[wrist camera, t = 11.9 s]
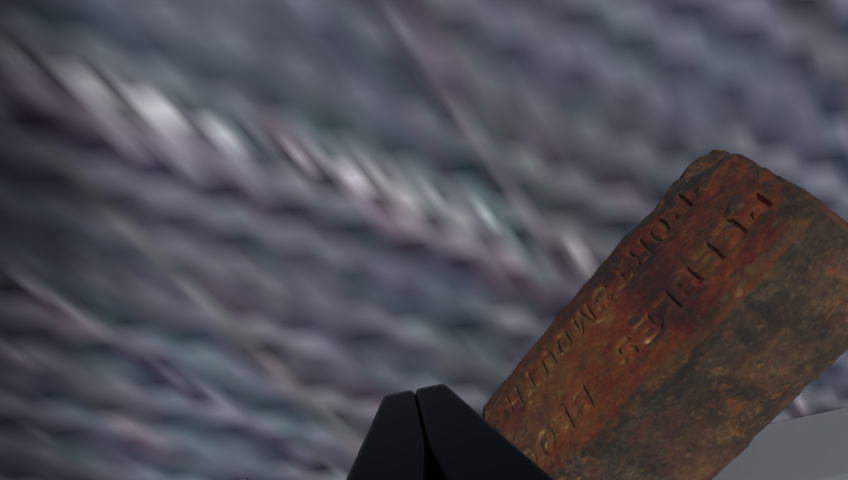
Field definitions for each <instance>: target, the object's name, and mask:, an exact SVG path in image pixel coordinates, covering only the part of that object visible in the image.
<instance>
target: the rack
mask: <svg viewBox="0 0 848 480" xmlns="http://www.w3.org/2000/svg"><path fill="white" fill-rule="evenodd" d="M712 480H848V407H846V408H842V409H837V410H832V411H828V412H823V413H818V414H814V415H809V416H804V417H800V418H795V419H790V420H786V421H781V422H776V423H772V424H768V425H767V426H766V427H765V428H764V429H763V430H762V431H761V432H759V433H758V434H757V435H756V436H755V437H754V438H753V440H752V441H751V443H750V444H749V446H748V447H747V448H746V449H745V450H744V451H743V452H742V453H741V454H740V455H739V456H737V457H736V458H734V459H733V460H732V461H731V462H730V463H729V464H728V465H727V466H726V467H725V468H724V469H723V470H722V471H721V472H720V473H719V474H718V475H717V476H716V477H715V478H713V479H712Z"/></svg>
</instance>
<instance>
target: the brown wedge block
mask: <svg viewBox="0 0 848 480" xmlns="http://www.w3.org/2000/svg"><path fill="white" fill-rule="evenodd" d="M847 350H848V223H847V222H846V221H845V220H844V219H842V218H841V217H840V216H838V215H837V214H836V213H835V212H833V211H832V210H831V209H830V208H828V207H827V206H826V205H825V204H824V203H822V202H821V201H820V200H819V199H817V198H816V197H815V196H813V195H812V194H810V193H809V192H807V191H806V190H804V189H802V188H800V187H798V186H797V185H795V184H792V183H790V182H788V181H787V180H785V179H783V178H782V177H780V176H776V175H775V174H774V173H772V172H771V171H769V170H768V169H767V168H762V167H760V166H759V165H758V164H757V163H755V162H754V161H752V160H750V159H748V158H746V157H744V156H742V155H740V154H730V153H728V152H726V151H721V150H713V151H712V152H710V153H709V154H707V155H705V156H703V157H701V158H699V159H697V160H696V161H694V162H693V163H692V164H690V165H689V166H688V167H687V168H686V170H685V171H684V173H683V174H682V176H681V177H680V179H679V180H677V181H676V182H674V183H673V185H672V186H671V187H670V188H669V190H668V191H667V193H666V195H665V197H664V198H663V199H662V200H661V202H660V203H659V204H658V205H657V207H656V208H655V210H654V211H652V212H651V213H650V214H649V215H648V216H647V217H646V218H645V219H644V220H643V221H642V222H641V223H640V224H639V225H638V226H637V227H636V228H635V229H634V230H632V231H631V232H630V233H629V234H627V235H626V236H625V237H623V239H622V240H621V241H620V243H619V244H618V245H617V247H616V248H615V250H614V251H613V252H612V253H611V255H610V256H609V257H608V259H607V260H606V261H605V262H604V263H602V264H601V266H600V267H599V268H598V270H597V271H596V272H595V274H594V275H593V276H592V277H591V279H590V280H589V281H588V282H587V283H586V284H585V285H584V286H583V287H582V288H581V290H580V291H579V292H578V293H577V295H576V296H575V297H574V298H573V300H572V301H571V302H570V304H569V305H568V306H567V307H566V308H565V310H564V311H563V312H562V313H561V314H560V315H559V316H558V318H557V319H556V320H555V321H554V322H553V324H552V325H551V326H550V327H549V328H548V330H547V331H546V332H545V333H544V334H543V336H542V337H541V338H540V339H539V340H538V342H537V343H536V344H535V345H534V346H533V348H532V349H531V350H530V351H529V352H528V353H527V355H526V356H525V357H524V358H523V359H522V361H521V362H520V363H519V364H518V366H517V367H516V368H515V370H514V371H513V372H512V374H511V375H510V376H509V377H508V378H507V380H506V381H505V382H504V383H503V384H502V385H501V387H500V388H499V389H498V390H497V392H496V393H495V394H494V395H493V396H492V398H491V399H490V400H489V401H488V402H487V404H486V405H485V406H484V412H483V417H484V419H485V420H486V421H487V422H488V423H490V424H491V425H492V426H493V427H494V428H495V429H496V430H498V431H499V432H500V433H501V434H502V435H503V436H504V437H506V438H507V439H508V440H509V441H510V442H511V443H512V444H514V445H515V446H516V447H517V448H518V449H519V450H520V451H522V452H523V453H524V454H525V455H526V456H527V457H528V458H530V459H531V460H532V461H533V462H534V463H535V464H537V465H538V466H539V467H540V468H541V469H542V470H543V471H545V472H546V473H547V474H548V475H549V476H550V477H551V478H553V479H554V480H712V479H713V478H715V477H716V476H717V475H718V474H719V473H720V472H721V471H722V470H723V469H724V468H725V467H726V466H727V465H728V464H729V463H730V462H731V461H732V460H733V459H734V458H736V457H737V456H739V455H740V454H741V453H742V452H743V451H744V450H745V449H746V448H747V447H748V446H749V444H750V443H751V441H752V440H753V438H754V437H755V436H756V435H757V434H758V433H759V432H761V431H762V430H763V429H764V428H765V427H766V426H767V425H768V424H769V423H770V422H771V421H772V420H773V419H774V418H775V417H776V416H777V415H778V414H779V413H781V412H782V411H783V410H784V409H785V408H786V407H787V406H788V405H789V404H790V403H791V402H792V401H793V400H794V399H795V398H796V397H797V396H798V395H799V394H800V393H801V392H802V390H803V389H804V388H805V387H806V386H807V385H808V384H810V383H811V382H813V381H815V380H817V379H818V378H819V377H820V375H821V374H822V373H823V371H824V370H826V369H827V368H828V367H830V366H831V365H832V364H833V363H834V362H835V361H836V360H837V358H838V357H839V356H840V355H841V354H843V353H844V352H845V351H847Z"/></svg>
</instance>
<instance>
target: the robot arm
mask: <svg viewBox="0 0 848 480" xmlns="http://www.w3.org/2000/svg"><path fill="white" fill-rule="evenodd" d="M346 480H554V479H553V478H551V477H550V476H549V475H548V474H547V473H546V472H545V471H543V470H542V469H541V468H540V467H539V466H538V465H537V464H535V463H534V462H533V461H532V460H531V459H530V458H528V457H527V456H526V455H525V454H524V453H523V452H522V451H520V450H519V449H518V448H517V447H516V446H515V445H514V444H512V443H511V442H510V441H509V440H508V439H507V438H506V437H504V436H503V435H502V434H501V433H500V432H499V431H498V430H496V429H495V428H494V427H493V426H492V425H491V424H490V423H488V422H487V421H486V420H485V419H484V418H483V417H482V416H480V415H479V414H478V413H477V412H476V411H475V410H474V409H472V408H471V407H470V406H469V405H468V404H467V403H465V402H464V401H463V400H462V399H461V398H460V397H459V396H457V395H456V394H455V393H454V392H453V391H452V390H451V389H449V388H448V387H447V386H446V385H443V384H439V385H434V386H429V387H424V388H420V389H418V390H417V391H416V396H415V393H414V392H413V391H404V392H399V393H394V394H389V395H386V396H385V397H384V398H383V400H382V402H381V404H380V407H379V409H378V411H377V413H376V415H375V418H374V420H373V422H372V424H371V426H370V429H369V431H368V433H367V435H366V437H365V440H364V442H363V444H362V446H361V448H360V450H359V453H358V455H357V457H356V459H355V461H354V464H353V466H352V468H351V470H350V472H349V475H348V477H347V479H346Z"/></svg>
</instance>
